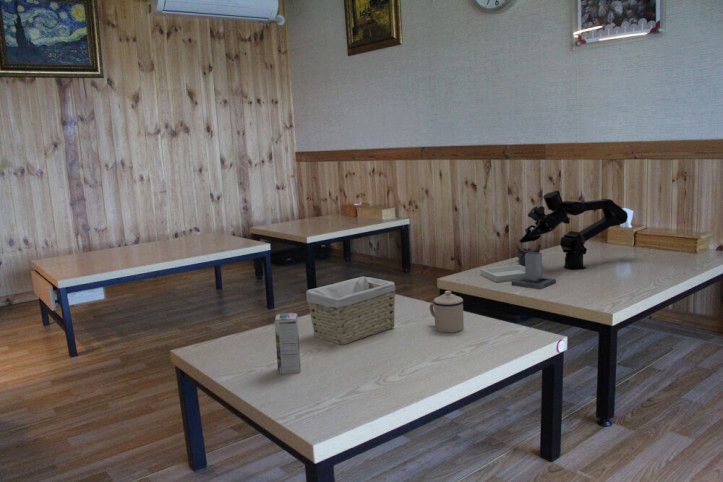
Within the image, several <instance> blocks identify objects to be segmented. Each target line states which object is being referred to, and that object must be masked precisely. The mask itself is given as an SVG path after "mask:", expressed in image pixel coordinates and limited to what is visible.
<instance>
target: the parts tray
mask: <svg viewBox="0 0 723 482" xmlns="http://www.w3.org/2000/svg"><path fill="white" fill-rule="evenodd" d="M479 273H480V276H481V277H484V278H485V279H488V280H491V281H493V282H495V283H505V282H512V281H514V280H517V279H519V278H522V277H525V267H524V266H523V265H522V264H515V265H507V266H506V265H504V266H499V267H498V266H497V267H490V268H481V269H480V270H479Z"/></svg>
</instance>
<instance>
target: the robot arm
mask: <svg viewBox="0 0 723 482" xmlns="http://www.w3.org/2000/svg"><path fill="white" fill-rule="evenodd" d="M542 198H543V200H544V203H545V206H546V208H547V210H548V211H551V212H550V213H547V214H546V212H545V210H546V209H545V207H544V206H543V205H541V206H539V207H538V206H534V207H532V208H531V209H530V211H529V212H528V214H527V217H529V218H530V219H532V220H533V221H535V222H534V224H535V225H533V224H532V225H530V226H528V227H527V228H525V229H524V231H525V234H524V235H523V236H522V237H521V239H519V243H520V244H524V243H528V242H529V243H530V242H535V241H537V240H538V239H540V238H541V236H542V235H545V234H548V233H551V232H553V231H554V230H555V229H556V227H558V226H559V225H560V224H562V223H563V224H566V225H569V224H570V222H571V221H570V219H571V217H569V216H578V215H581V214H583V213H584V212H589V211H597V210H602V213H603V216H602V218H601V219H598V220H597V221H595V222H594V223H592V224H591V225H588V226H587V227H585V228H584V229H582V230H579V231H575V230H574V231H573V230H571V231H568V232H567V233H566V234H563V236H562V237H561V239H560V241H559V244H560V245H559V246H560V247H561V249H562V252H563V253H565V257H564V265H563V268H567V269H570V270H578V269H585V268H586V266H585V265H584V255H586V254H587V251H588V249H587V247H585V244H586V242H587V241H589V240H590V239H592V238H593V237H595V236H597V235H599V234H601V233H603V232H604V231H606V230H608V229H609V228H611V227H615V226H620V225H623V224H625V223H627V221H628V219H629V218H628V217H629V216H628V212H627V211H626V210H625V209H623V208H622V207H621V206H619V205H618V204H616V203H615V202H614V201H613V199H610V198H602V199H594V200H586V201H572V200H565V201H563V199H562V196H561V192H560V190H554V191H550V192H547V193H545V194H544V195H543V197H542Z"/></svg>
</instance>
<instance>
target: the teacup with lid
mask: <svg viewBox="0 0 723 482" xmlns="http://www.w3.org/2000/svg"><path fill="white" fill-rule="evenodd" d="M464 303H465V302H464V299H463V298H462V297H461V296H457V295H456V294H453V293H452V290H446V291H444V294H441V295H440V296H437V297H435V298H434V299H433V302H431V303H430V305H429V312H430V314H431V316H432V317H433V318H434V328H435V331H438V332H440V333H447V334H448V333H451V334H452V333H457V332H460V331H462V330H464V328H465V327H464V323H465V322H464Z"/></svg>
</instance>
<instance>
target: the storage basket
mask: <svg viewBox="0 0 723 482" xmlns="http://www.w3.org/2000/svg"><path fill="white" fill-rule="evenodd" d="M371 287H372V288H371ZM305 294H306V296H305V297H306V302H307V305H308V309H309V313H310V317H311V324H312V327H313V328H312V330H313V334H314V336H315V337H316V338H320V339H322V340H325V341H328V342H330V343H335V344H336V345H346V344H350V343H352V342H355V341H358V340H362V339H365V338H366V337H370V336H372V335H375V334H378V333H380V332H381V333H382V332H383V331H385V330H386V331H387V330H388V329H392V328H394V327H395V326H396V325H395V308H396V307H395V301H396V298H395V297H396V285H395V282H394V281H390V280H385V279H379V278H375V277H370V276H369V277H367V276H360V277H355V278H351V279H347V280H343V281H339V282H335V283H333V284H332V283H331V284H328V285H324V286H320V287H316V288H311V289H307V290H306V292H305Z"/></svg>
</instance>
